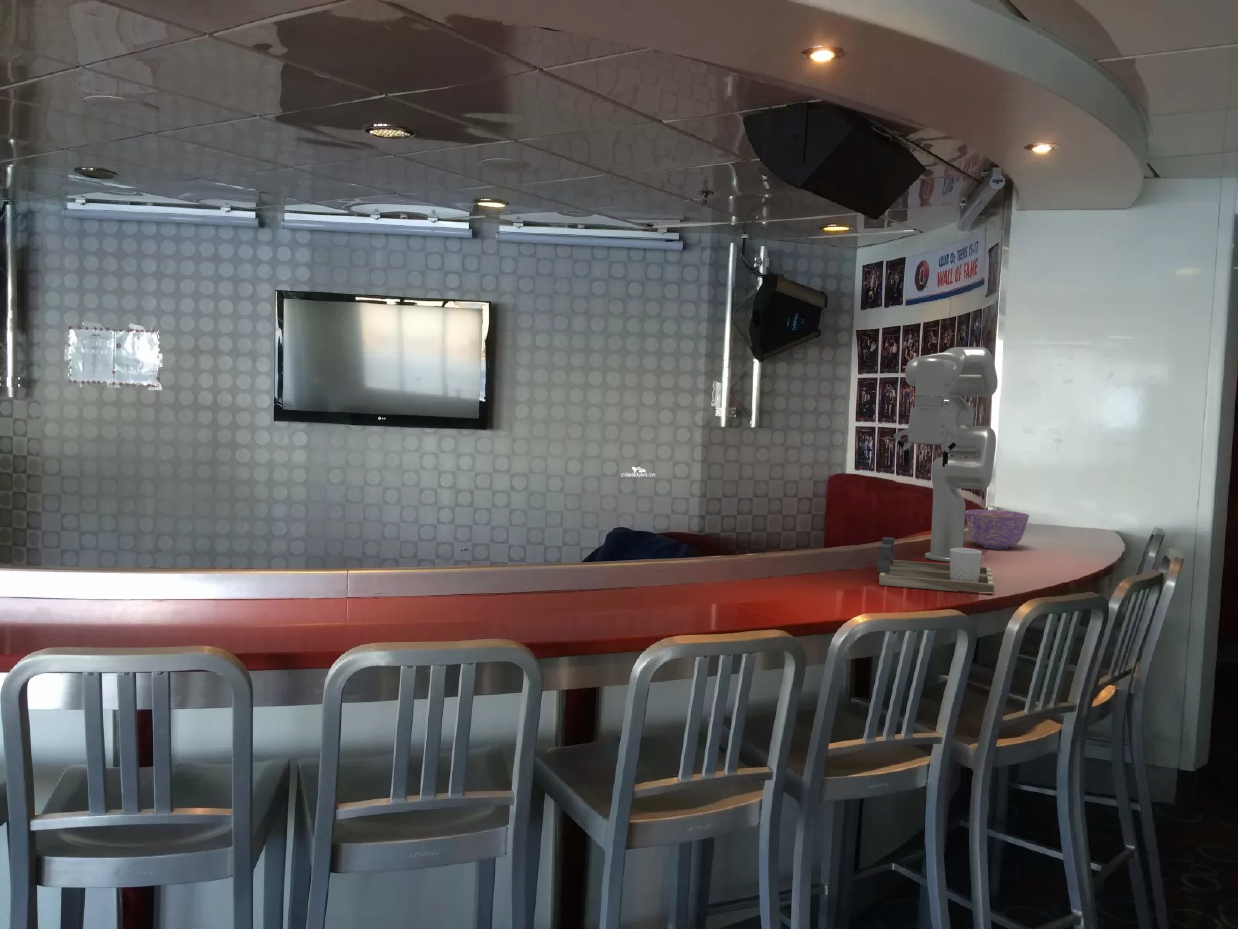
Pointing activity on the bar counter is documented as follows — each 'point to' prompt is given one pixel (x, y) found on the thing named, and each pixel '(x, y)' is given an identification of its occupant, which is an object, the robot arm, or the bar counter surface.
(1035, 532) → the bar counter surface
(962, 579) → the white cup
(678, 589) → the bar counter surface
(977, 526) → the bowl of food
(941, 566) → the cube sled
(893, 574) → the glass sled
